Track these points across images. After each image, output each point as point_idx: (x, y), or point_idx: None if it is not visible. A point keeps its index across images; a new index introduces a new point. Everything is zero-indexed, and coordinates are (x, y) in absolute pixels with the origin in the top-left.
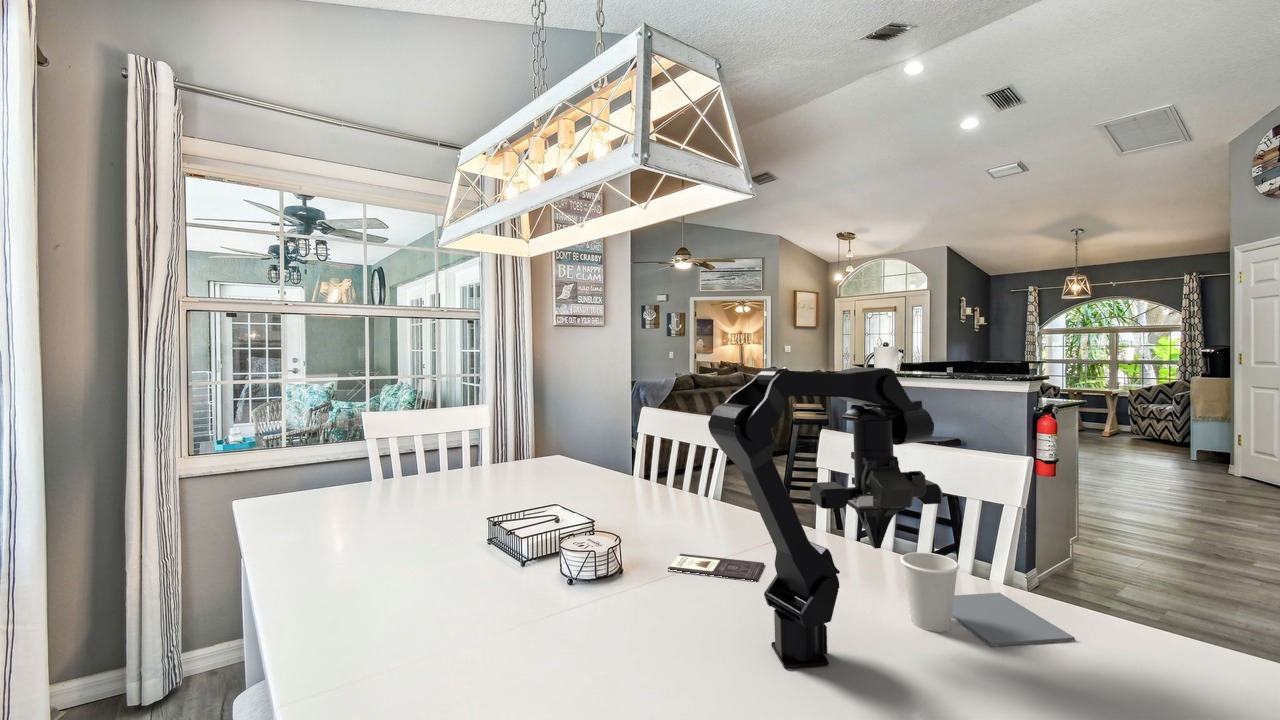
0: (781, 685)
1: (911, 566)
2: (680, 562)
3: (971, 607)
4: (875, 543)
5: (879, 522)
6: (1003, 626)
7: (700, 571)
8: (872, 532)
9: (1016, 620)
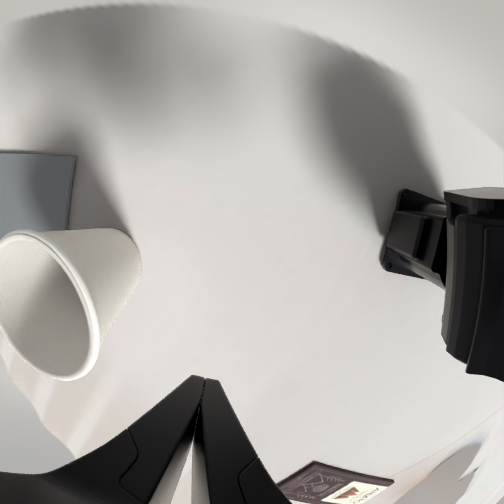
0: (472, 176)
1: (89, 306)
2: (369, 494)
3: None
4: (217, 393)
5: (163, 486)
6: (25, 204)
7: (367, 480)
8: (240, 439)
9: (4, 216)
